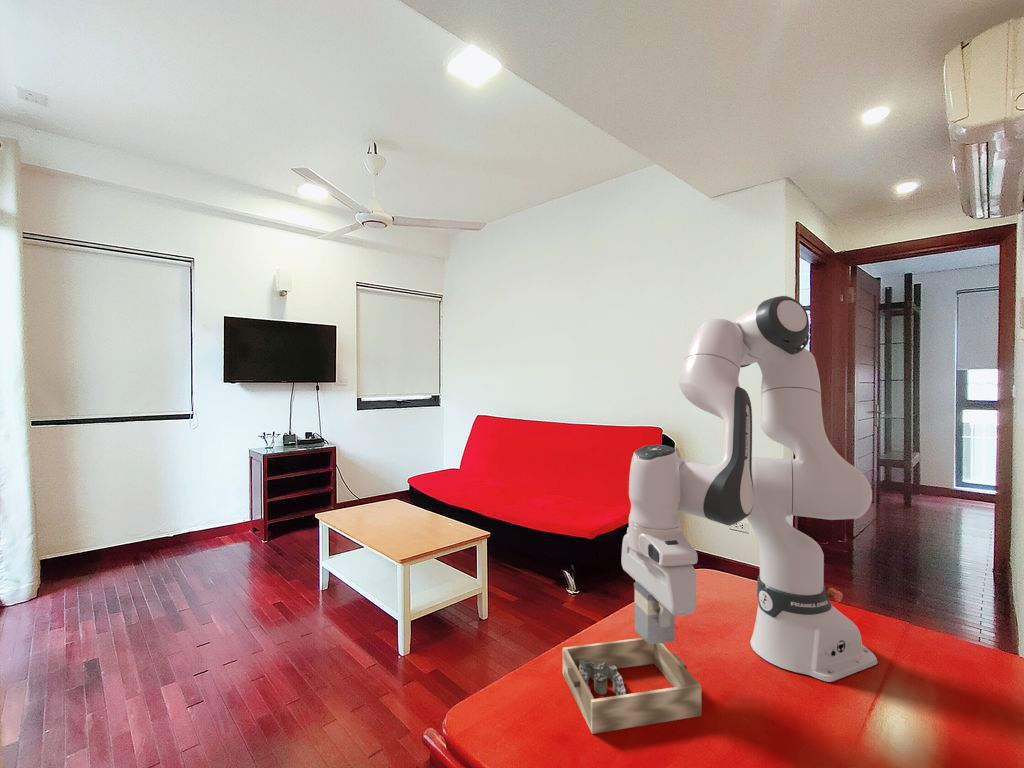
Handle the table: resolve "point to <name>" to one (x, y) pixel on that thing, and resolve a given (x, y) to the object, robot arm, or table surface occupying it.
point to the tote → (634, 706)
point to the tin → (650, 618)
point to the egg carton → (602, 677)
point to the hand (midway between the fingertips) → (653, 615)
